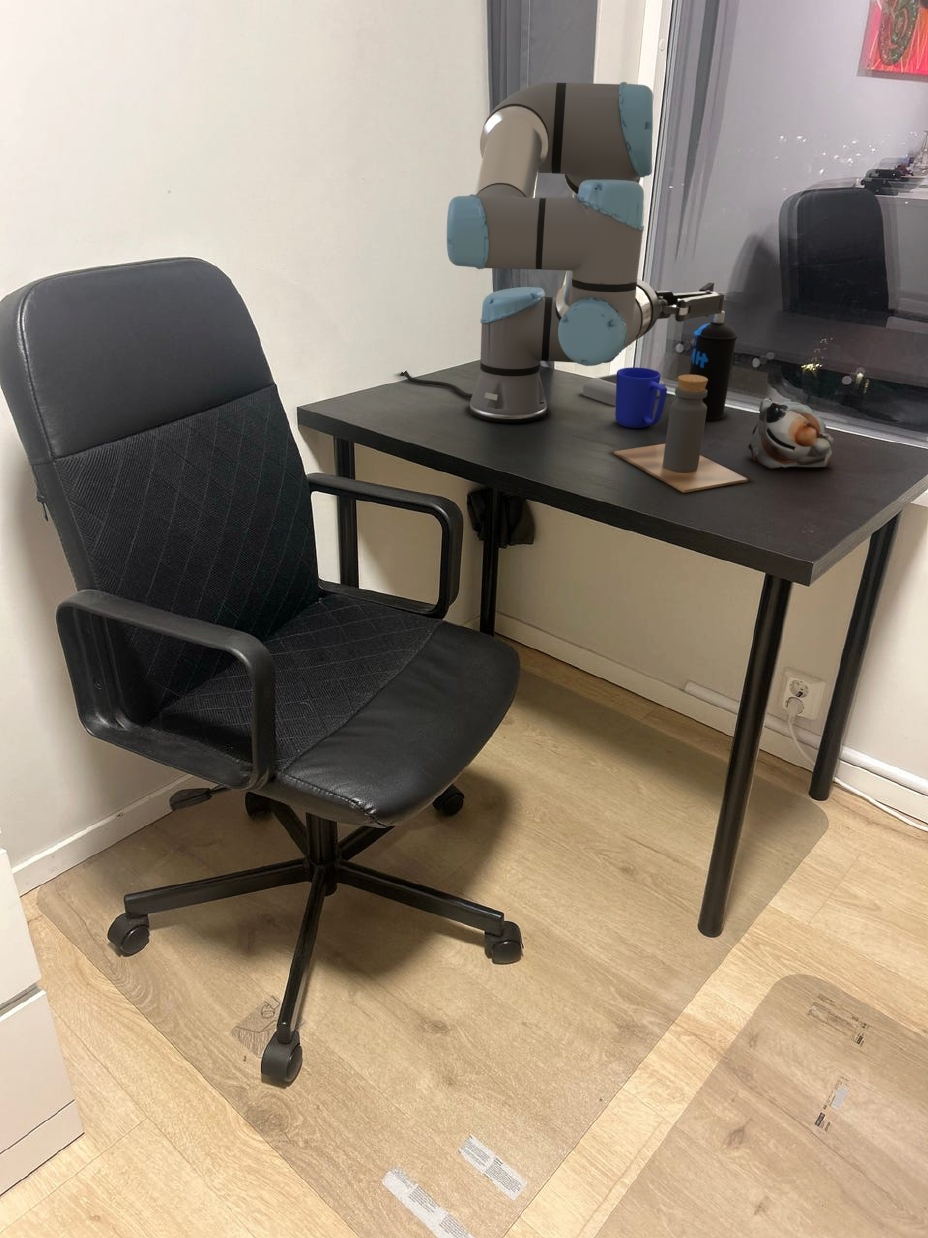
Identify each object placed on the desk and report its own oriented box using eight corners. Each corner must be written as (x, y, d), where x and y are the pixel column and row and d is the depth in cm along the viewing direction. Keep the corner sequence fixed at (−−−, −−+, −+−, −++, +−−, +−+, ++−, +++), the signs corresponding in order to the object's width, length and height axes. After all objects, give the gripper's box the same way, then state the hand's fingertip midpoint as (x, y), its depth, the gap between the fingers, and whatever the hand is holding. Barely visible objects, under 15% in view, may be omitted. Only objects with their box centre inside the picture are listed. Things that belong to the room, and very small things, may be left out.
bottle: (658, 469, 147) (670, 379, 140) (667, 458, 152) (679, 371, 144) (693, 475, 145) (707, 384, 138) (701, 464, 150) (715, 376, 142)
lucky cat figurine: (844, 464, 152) (865, 405, 141) (797, 502, 149) (815, 445, 138) (776, 419, 159) (790, 360, 148) (730, 455, 156) (741, 397, 145)
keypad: (666, 377, 187) (616, 388, 179) (664, 394, 189) (614, 405, 181) (633, 368, 193) (584, 377, 186) (632, 384, 195) (582, 395, 187)
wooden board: (613, 453, 155) (614, 451, 155) (673, 444, 160) (674, 442, 160) (683, 492, 140) (684, 490, 139) (747, 481, 144) (748, 478, 144)
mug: (641, 439, 162) (647, 385, 157) (603, 421, 172) (608, 369, 167) (675, 433, 166) (683, 380, 161) (636, 416, 175) (642, 365, 170)
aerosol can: (720, 409, 180) (737, 307, 170) (727, 421, 173) (745, 316, 163) (680, 407, 180) (694, 306, 171) (684, 419, 173) (700, 314, 163)
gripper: (530, 332, 118) (580, 306, 135) (716, 354, 110) (745, 323, 126) (533, 273, 115) (584, 254, 131) (727, 291, 106) (755, 267, 123)
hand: (663, 288), depth 129 cm, fingers open, 13 cm apart
